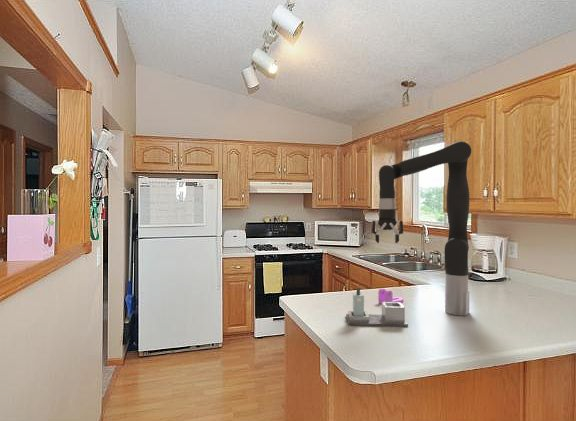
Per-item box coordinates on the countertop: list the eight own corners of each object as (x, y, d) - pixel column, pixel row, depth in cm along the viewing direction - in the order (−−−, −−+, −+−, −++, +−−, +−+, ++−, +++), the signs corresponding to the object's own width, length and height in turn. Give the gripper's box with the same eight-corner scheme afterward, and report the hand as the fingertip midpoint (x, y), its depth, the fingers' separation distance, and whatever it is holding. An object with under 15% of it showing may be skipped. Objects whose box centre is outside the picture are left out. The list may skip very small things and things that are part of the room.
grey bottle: (362, 317, 151) (362, 286, 151) (364, 320, 147) (364, 288, 146) (352, 317, 152) (352, 286, 151) (354, 320, 147) (354, 288, 147)
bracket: (386, 305, 173) (386, 291, 172) (378, 302, 177) (378, 288, 177) (405, 301, 179) (405, 287, 179) (397, 299, 184) (397, 285, 184)
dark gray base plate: (400, 317, 154) (400, 300, 154) (407, 326, 142) (407, 309, 142) (346, 316, 156) (346, 300, 156) (348, 325, 144) (348, 308, 144)
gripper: (373, 208, 166) (373, 243, 166) (404, 208, 165) (404, 243, 165) (370, 208, 174) (370, 242, 174) (400, 208, 173) (400, 242, 173)
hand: (387, 242), depth 170 cm, fingers open, 8 cm apart
